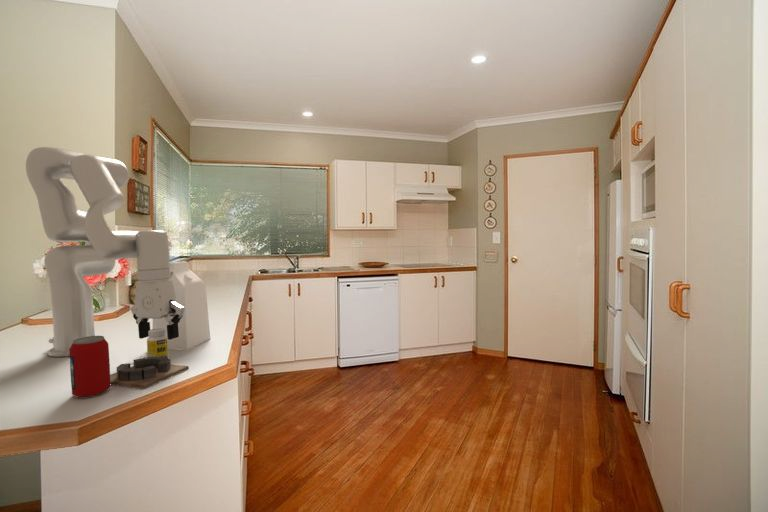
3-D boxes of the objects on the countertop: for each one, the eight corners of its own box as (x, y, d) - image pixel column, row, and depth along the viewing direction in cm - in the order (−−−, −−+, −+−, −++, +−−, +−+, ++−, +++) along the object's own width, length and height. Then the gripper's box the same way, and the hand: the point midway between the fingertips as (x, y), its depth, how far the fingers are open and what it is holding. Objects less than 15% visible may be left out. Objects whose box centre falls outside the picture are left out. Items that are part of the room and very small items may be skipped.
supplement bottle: (158, 363, 103) (157, 332, 102) (143, 362, 104) (142, 331, 103) (171, 357, 107) (170, 328, 107) (157, 356, 108) (155, 327, 108)
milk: (178, 338, 128) (175, 260, 127) (210, 339, 127) (207, 260, 125) (152, 348, 116) (148, 263, 115) (186, 349, 115) (183, 263, 113)
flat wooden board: (96, 383, 89) (95, 370, 89) (145, 364, 102) (144, 353, 101) (144, 388, 85) (143, 375, 85) (188, 368, 98) (188, 357, 98)
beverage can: (86, 387, 86) (83, 335, 86) (117, 386, 87) (114, 334, 86) (63, 400, 80) (60, 343, 79) (98, 398, 80) (94, 342, 80)
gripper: (117, 277, 103) (121, 340, 104) (169, 276, 98) (173, 342, 99) (141, 274, 110) (146, 333, 111) (191, 273, 105) (195, 335, 106)
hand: (159, 337), depth 105 cm, fingers open, 9 cm apart
